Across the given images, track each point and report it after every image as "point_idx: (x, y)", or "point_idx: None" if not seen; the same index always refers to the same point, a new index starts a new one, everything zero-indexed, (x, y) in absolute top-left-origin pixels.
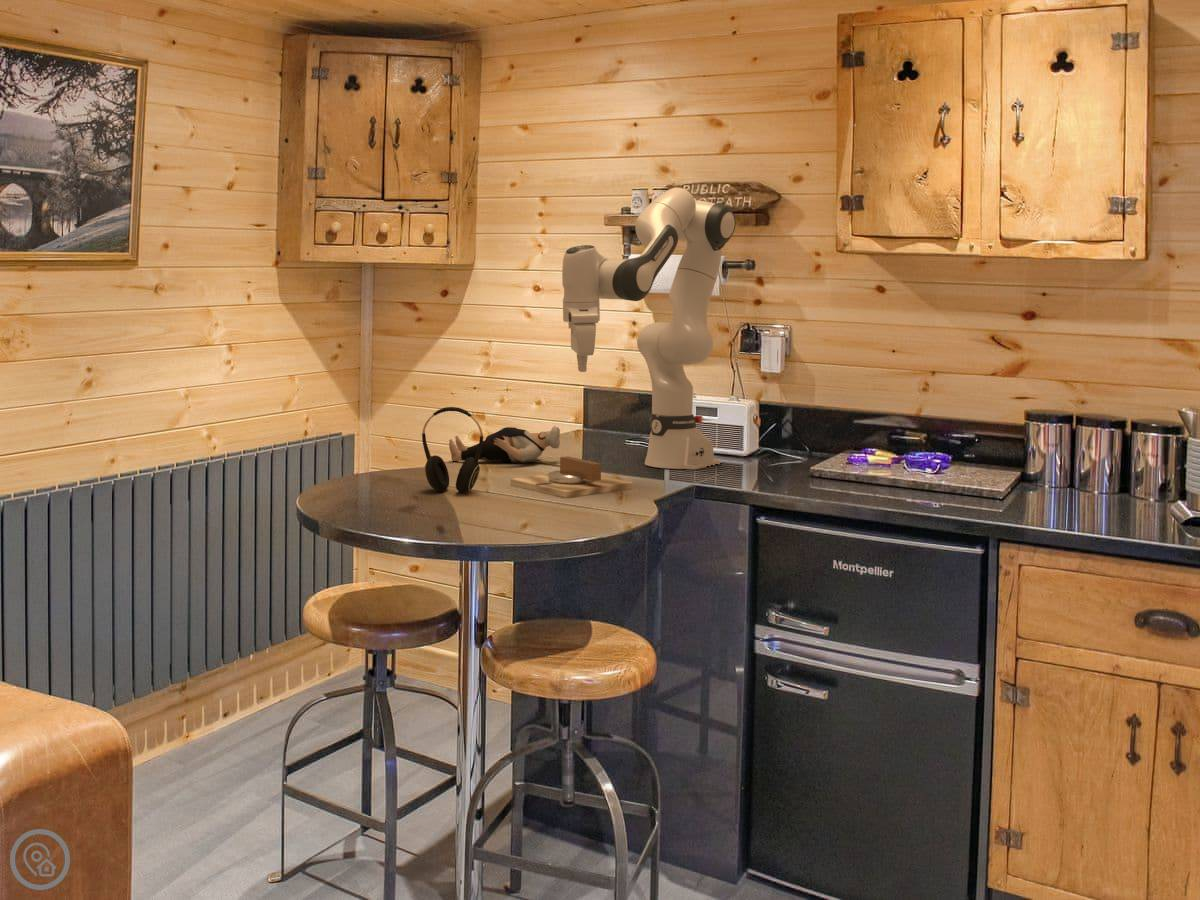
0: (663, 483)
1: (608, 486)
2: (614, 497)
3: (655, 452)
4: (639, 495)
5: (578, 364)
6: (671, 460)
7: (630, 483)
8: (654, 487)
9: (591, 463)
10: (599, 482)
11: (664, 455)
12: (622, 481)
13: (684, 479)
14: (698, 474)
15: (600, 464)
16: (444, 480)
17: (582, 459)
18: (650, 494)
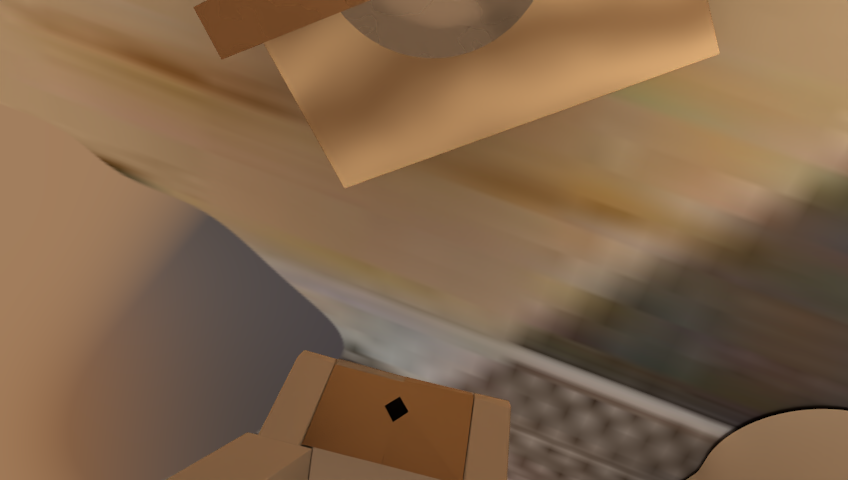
0: (442, 315)
1: (278, 66)
2: (170, 43)
3: (806, 467)
4: (213, 151)
5: (410, 465)
6: (729, 473)
7: (339, 178)
8: (368, 259)
9: (219, 6)
10: (364, 57)
11: (759, 475)
12: (375, 161)
13: (503, 399)
14: (584, 468)
15: (222, 53)
16: None
17: (364, 1)
18: (232, 195)
